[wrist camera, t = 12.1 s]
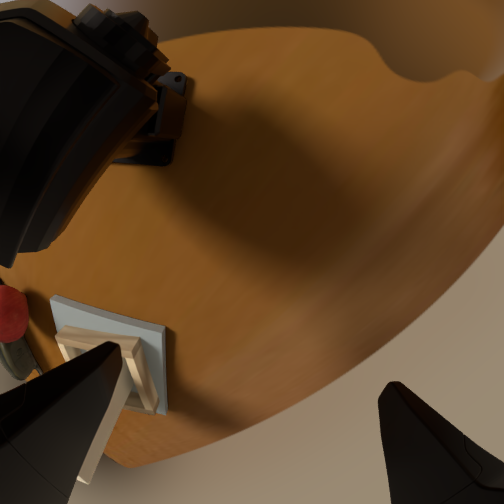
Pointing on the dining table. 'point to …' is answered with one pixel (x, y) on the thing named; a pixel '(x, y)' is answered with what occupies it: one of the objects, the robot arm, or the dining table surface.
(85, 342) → the socket collar
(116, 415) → the block
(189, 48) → the dining table surface
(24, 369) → the mobile phone
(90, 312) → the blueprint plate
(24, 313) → the onion
